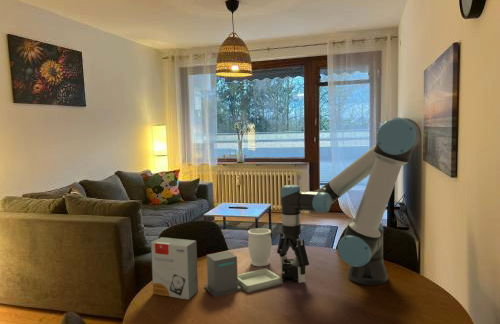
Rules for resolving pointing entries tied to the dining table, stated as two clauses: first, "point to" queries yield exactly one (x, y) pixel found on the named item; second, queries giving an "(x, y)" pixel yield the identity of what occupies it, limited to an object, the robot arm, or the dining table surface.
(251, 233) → the jar
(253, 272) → the tray
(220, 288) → the unit
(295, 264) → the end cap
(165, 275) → the hard drive box
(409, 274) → the dining table surface
